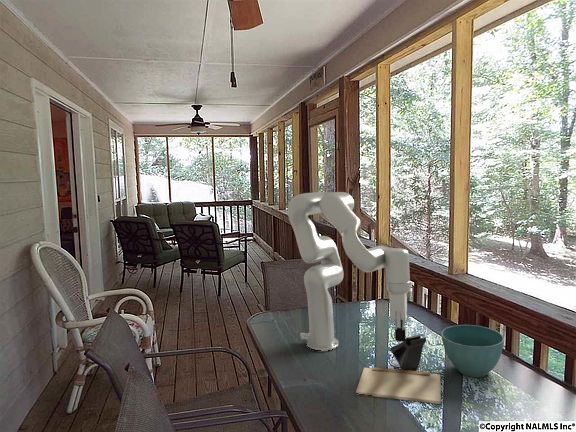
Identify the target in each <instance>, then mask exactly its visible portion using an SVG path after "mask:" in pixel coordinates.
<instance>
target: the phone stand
mask: <svg viewBox="0 0 576 432" xmlns="http://www.w3.org/2000/svg"><path fill="white" fill-rule="evenodd" d="M423 336H424V333H420V334H416V335H412V336H406V339H405V341H404V342H400V343H397V344H396V345H394V346H392V347H390V348H389V350H390V352H391V354H392V355H393V356H394V358H395V360H396V362H397V363H398V365H399V367H400V369H401V370H409V371H413V370H415V369H419V367H420V362H421V359H422V355H423V353H422V352H423V349H424V345H425V344H426V342H427V337H426V336H425V337H423Z"/></svg>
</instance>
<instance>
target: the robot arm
mask: <svg viewBox="0 0 576 432" xmlns="http://www.w3.org/2000/svg"><path fill="white" fill-rule="evenodd" d="M354 208H355V200H354V199H353V197H352V195H351V194H349V193H348V192H345V191H315V192H305V193H300V194H297V195H296V196H294V197H292V198H291V199H290V201H289V203H288V205H287V217H288V220H289V223H290V225H291V227H292V230H293V232H294V236H295V239H296V243H297V247H298V250H299V254H300V256H301V259H302V260H303V262H304V263H306V264H314V263H317V262H320V264H317V265H315V266H311V267H310V268H308V269H307V270H306V271H305V273H304V275H303V284H304V288H305V292H306V296H307V297H306V298H307V311H308V326H309V328H308V329H309V332H308V333H307V332H300V333H299V338H300V339H301V341H302V340H304V341H305V340H306V343H305V345H306V344H307V345H306V347H307V346H308V347H310V348H312V349H315V350H321V351H320V352H329V351H328V350H330V351H332V349H333V350H335V349H337V348H338V347H339V340H338V339H337V338H336V337H335V329H334V327H335V326H334V314H333V313H334V309H333V299H332V296H331V293H330V292H329V288H331V287H334V286H337V285H339V284H340V283H342V282H343V279H344V276H345V274H344V269H343V265H342V262H341V261H342V260H341V258H340V255H339V251H338V247H337V245H336V243H335V242H334V240H333V239H332V238H331V237H329V236H327V235H321V236H319V235H318V232H317V228H316V226H315V224H314V222H313V221H312V220H311V219H310V217H309V216H311V215H316V214H323V215H324V216H325V217H326V218H327V219H328V221H329V222H330V223H331V225H332V226H333V227H334V228H335V229H336V231H337V232H339V234H340V235H341V242H342V247H343V249H344V252H345V254H346V256H347V257H348V259H349V260H350V261H351V262H352V263H353V265H354V266H355V267H356V268H358V269H359V270H360V271H362V272H364V273H372V272H375V271H377V270H380V269H384V268H385V285H386V292H387V293H389V322H390V323H391V324H392V323H394V336H395V337H394V339H395V342H400V343H402V342H404V341H405V339H406V338H407V336H406V328H405V326H406V325H405V324H406V321H407V313H408V296H407V295H408V293H410V292H411V276H410V275H411V274H410V272H411V271H410V254H409V250H407V249H405V248H400V247H398V248H397V247H396V248H395V247H393V248H392V247H390V246H386V245H378V246H374V247H373V246H372V247H370V248H366V246H365V245H364V244H363V243H362V241H361V240H360V238H359V237H358V234H357V232H358V230H359V228H360V226H361V220H360V218H359V217H358V216H357V215H356V213H354V211H353V210H354ZM308 347H307V348H308ZM336 347H337V348H336Z"/></svg>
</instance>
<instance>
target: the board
mask: <svg viewBox="0 0 576 432" xmlns="http://www.w3.org/2000/svg"><path fill="white" fill-rule="evenodd" d="M356 393H359V394H365V395H364V396H368V395H372V396H371V397H377V398H387V399H393V400H395V399H396V400H402V401H413V402H420V403H421V402H422V403H429V404H436V405H438V404H439V405H441V404H442V397H441V374H437V373H430V372H429V371H420V370H419V371H416V370H402V369H398V368H397V369H396V368H385V367H375V366H373V367H363V370H362V372H361V375H360V378H359V382H358V385H357V387H356V390H355V394H356ZM359 394H358V395H359Z"/></svg>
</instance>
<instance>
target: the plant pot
mask: <svg viewBox="0 0 576 432" xmlns="http://www.w3.org/2000/svg"><path fill="white" fill-rule="evenodd" d="M440 333H441V340H442V345H443V348H444V350H445V353H446V355H447V358H448V359H449V360H450V362H451V364H452V365H453V366H454V367H455V369H456V370H457V371H458V372H459V373H460V374H462V375H464V376H466V377H469V378H483V377H485V376H487V375H489V373H490V372H492V371H493V369H494V368H495V367H496V366H497V364H498V362H499V360H500V359H501V356H502V353H503V349H504V344H505V343H504V340H505V339H504V338H505V337H504V335H503V334H502V333H500V332H499V331H497V330H495V329H493V328H489V327H485V326H481V325H473V324H459V325H458V324H457V325H451V326H447V327H446V328H444V329H443V330H442V331H441V332H440Z"/></svg>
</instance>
